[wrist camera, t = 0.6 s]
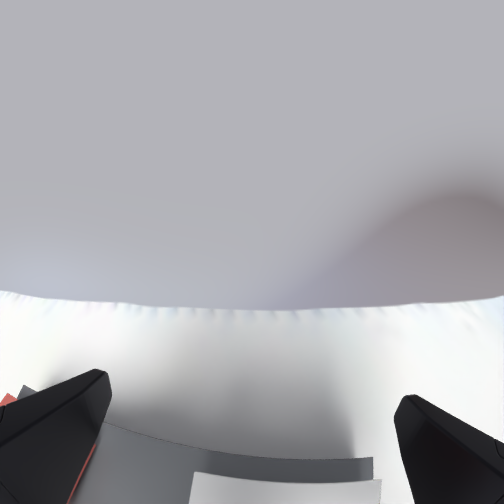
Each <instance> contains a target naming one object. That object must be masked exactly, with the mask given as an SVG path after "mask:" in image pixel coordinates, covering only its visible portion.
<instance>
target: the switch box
mask: <svg viewBox="0 0 504 504" xmlns="http://www.w3.org/2000/svg"><path fill="white" fill-rule="evenodd" d="M34 393H37V392H36V391H34V390H32V389H31V388H29V387H27V386H25V385H23V387H22V389H21V391H20V393H19V395H18V397H17V399H18V400H19V399H21V398H24V397H26V396H29V395H32V394H34ZM95 444H96V446H95V448H94V450H93V452H92V454H91V456H90V458H89V460H88V462H87V464H86V466H85V469H84V471H83V473H82V475H81V477H80V479H79V481H78V483H77V485H76V487H75V490H74V492H73V494H72V496H71V498H70V501H69V503H68V504H189V499H190V494H191V488H192V482H193V477H194V472H203V473H209V474H214V475H220V476H226V477H233V478H240V479H248V480H258V481H269V482H285V483H338V482H354V481H365V480H373V457H367V458H354V459H333V460H299V459H277V458H264V457H254V456H244V455H236V454H229V453H222V452H216V451H210V450H205V449H200V448H194V447H190V446H185V445H180V444H176V443H172V442H168V441H164V440H160V439H156V438H153V437H149V436H146V435H142V434H139V433H136V432H132V431H129V430H126V429H123V428H120V427H117V426H114V425H111V424H109V423H106V422H103V423H102V426H101V429H100V432H99V435H98V437H97V439H96V441H95Z"/></svg>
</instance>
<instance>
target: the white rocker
mask: <svg viewBox="0 0 504 504" xmlns="http://www.w3.org/2000/svg"><path fill="white" fill-rule="evenodd" d="M381 482H382V479H375V480H365V481H354V482H338V483H285V482H269V481H258V480H248V479H240V478H233V477H226V476H220V475H214V474H209V473H203V472H194V477H193V482H192V488H191V494H190V499H189V504H380V495H381Z"/></svg>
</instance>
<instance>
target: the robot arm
mask: <svg viewBox="0 0 504 504" xmlns="http://www.w3.org/2000/svg"><path fill="white" fill-rule="evenodd" d="M111 398H112V390H111V385H110V380H109V376H108V373H107V372H106V371H103V370H99V369H93V370H90V371H88V372H85V373H83V374H81V375H78V376H76V377H74V378H71V379H69V380H66V381H64V382H62V383H59V384H57V385H54V386H52V387H49V388H47V389H44V390H42V391H39V392H37V393H34V394H32V395H29V396H26V397H24V398H21V399H19V400H16V401H13V402H11V403H8V404H6V406H5V405H3V406H0V504H67V502H68V499H69V497H70V495H71V493H72V490H73V488H74V486H75V484H76V482H77V479H78V477H79V475H80V473H81V471H82V469H83V466H84V464H85V462H86V460H87V458H88V456H89V454H90V452H91V450H92V448H93V446H94V444H95V441H96V439H97V437H98V435H99V432H100V429H101V426H102V423H103V421H104V418H105V415H106V412H107V409H108V407H109V404H110V401H111ZM394 424H395V428H396V433H397V438H398V443H399V448H400V453H401V457H402V461H403V464H404V468H405V471H406V474H407V478H408V481H409V485H410V488H411V491H412V495H413V499H414V502H415V504H504V443H502V442H500V441H498V440H497V439H494V438H493V437H491V436H489V435H487V434H485V433H483V432H482V431H480V430H478V429H476V428H474V427H472V426H470V425H469V424H467V423H465V422H463V421H461V420H460V419H458V418H456V417H454V416H453V415H451V414H449V413H447V412H445V411H444V410H442V409H440V408H438V407H437V406H435V405H433V404H431V403H430V402H428V401H426V400H425V399H423V398H421V397H419V396H418V395H415V394H413V395H406V396H404V397H403V398H402V400H401V402H400V404H399V406H398V408H397V410H396V412H395V415H394Z"/></svg>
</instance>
